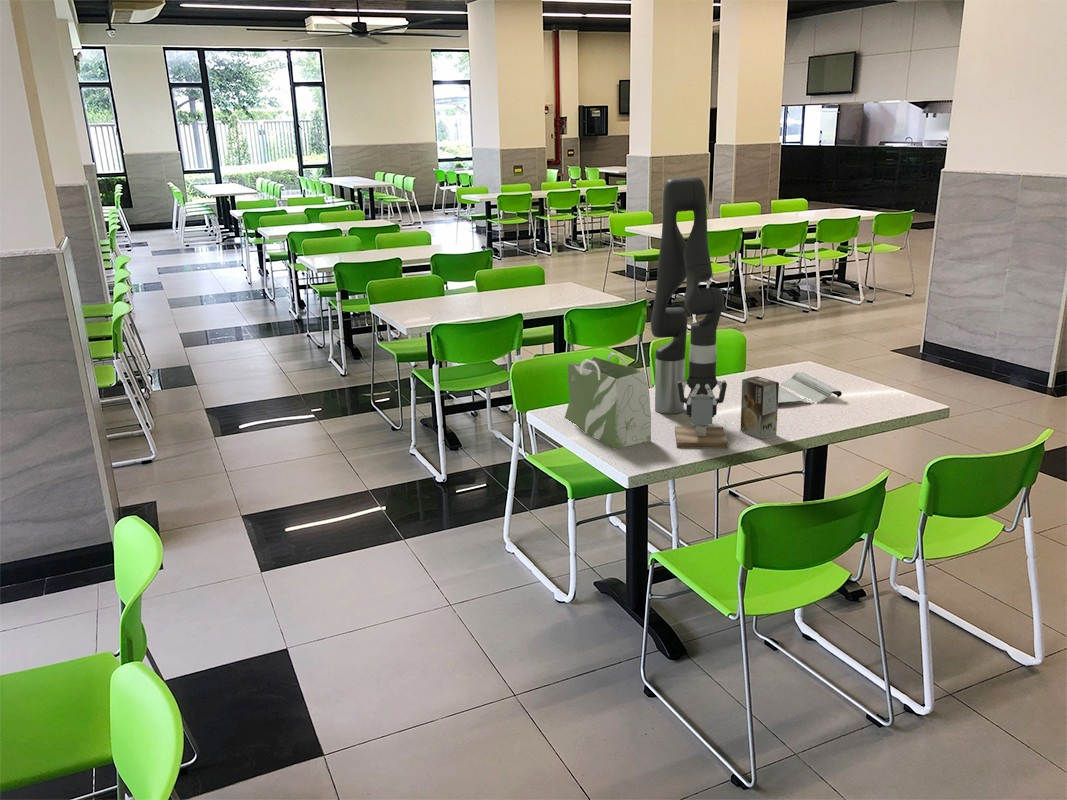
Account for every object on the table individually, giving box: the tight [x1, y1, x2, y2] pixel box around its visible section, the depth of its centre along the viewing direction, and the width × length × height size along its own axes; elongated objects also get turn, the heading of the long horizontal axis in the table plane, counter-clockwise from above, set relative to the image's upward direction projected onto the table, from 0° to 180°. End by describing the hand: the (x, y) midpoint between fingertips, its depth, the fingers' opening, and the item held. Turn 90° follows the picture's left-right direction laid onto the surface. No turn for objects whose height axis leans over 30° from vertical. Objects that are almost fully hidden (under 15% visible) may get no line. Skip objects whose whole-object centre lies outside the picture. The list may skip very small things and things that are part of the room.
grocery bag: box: [564, 352, 652, 449], centre depth 244 cm, size 32×14×23 cm, turn 25°
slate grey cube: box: [689, 394, 713, 426], centre depth 234 cm, size 6×6×7 cm
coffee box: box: [739, 375, 780, 440], centre depth 238 cm, size 9×6×16 cm
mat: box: [778, 371, 843, 405], centre depth 275 cm, size 23×24×5 cm
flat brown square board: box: [674, 425, 729, 449], centre depth 235 cm, size 14×14×8 cm
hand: (701, 416), depth 234 cm, fingers closed on slate grey cube, 5 cm apart
